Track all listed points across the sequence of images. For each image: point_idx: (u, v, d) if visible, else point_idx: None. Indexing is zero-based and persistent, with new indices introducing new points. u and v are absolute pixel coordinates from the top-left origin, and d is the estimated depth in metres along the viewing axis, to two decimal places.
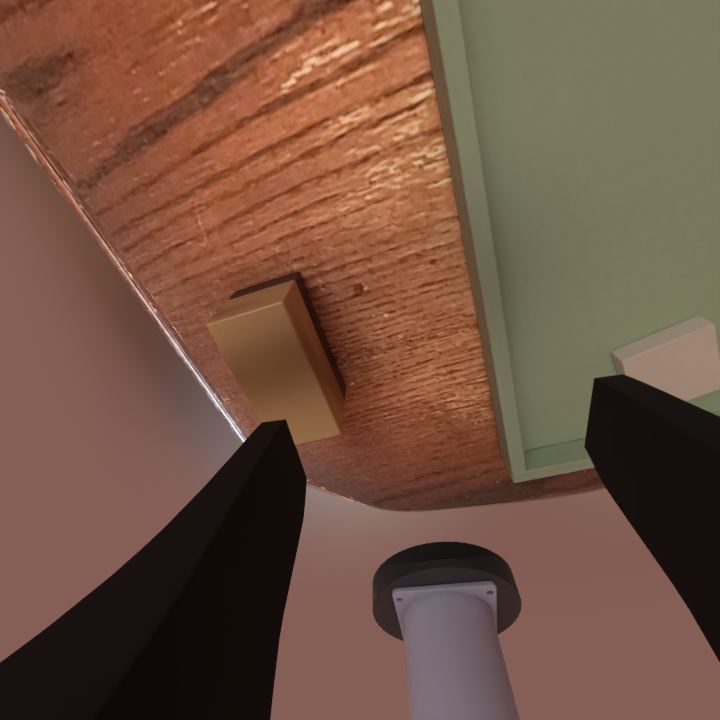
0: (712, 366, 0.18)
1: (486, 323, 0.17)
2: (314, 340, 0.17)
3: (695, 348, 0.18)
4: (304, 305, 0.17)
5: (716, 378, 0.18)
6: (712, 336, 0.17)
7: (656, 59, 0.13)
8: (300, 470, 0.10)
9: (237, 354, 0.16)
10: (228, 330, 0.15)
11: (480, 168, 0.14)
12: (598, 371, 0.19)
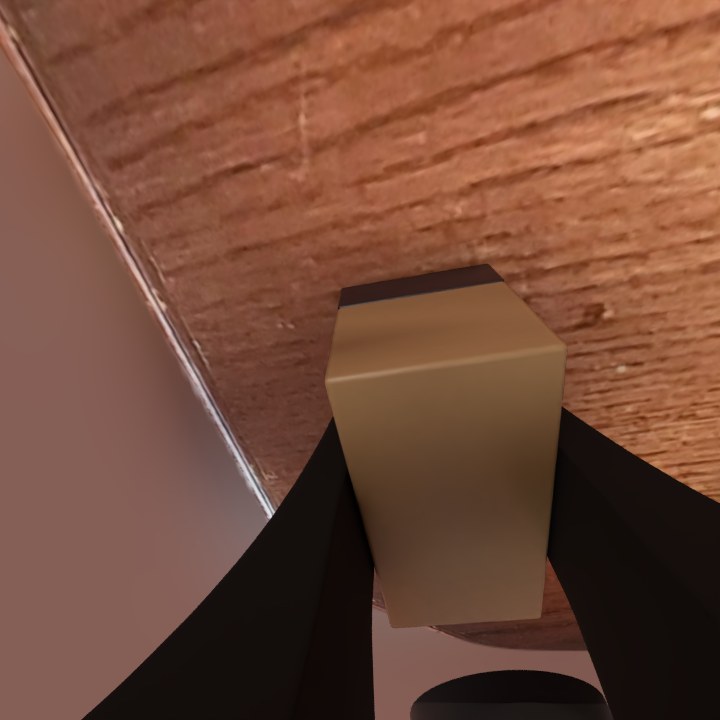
0: None
1: None
2: None
3: None
4: None
5: None
6: None
7: None
8: None
9: (383, 457, 0.06)
10: (384, 401, 0.06)
11: None
12: None
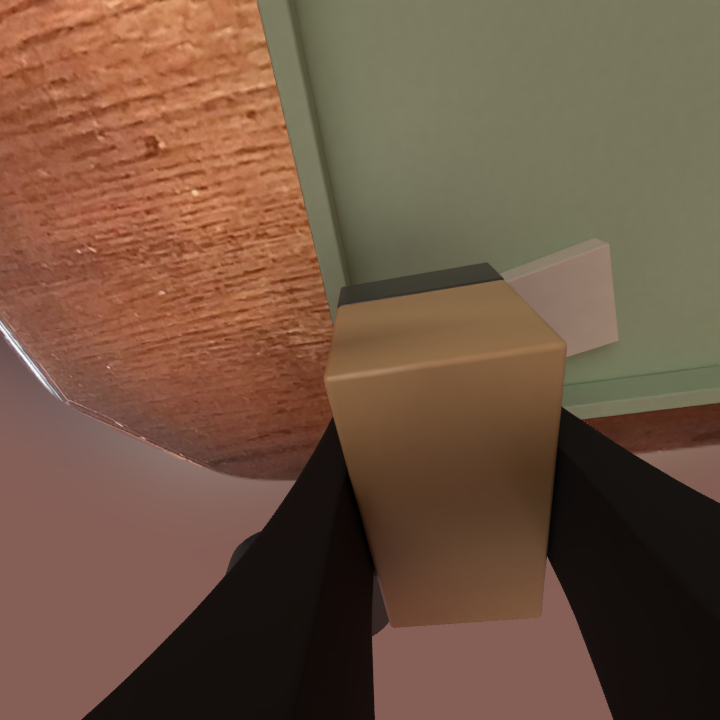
0: (605, 308, 0.14)
1: (304, 199, 0.12)
2: None
3: (584, 278, 0.13)
4: None
5: (610, 326, 0.14)
6: (606, 262, 0.13)
7: None
8: None
9: (383, 455, 0.06)
10: (383, 399, 0.06)
11: None
12: None
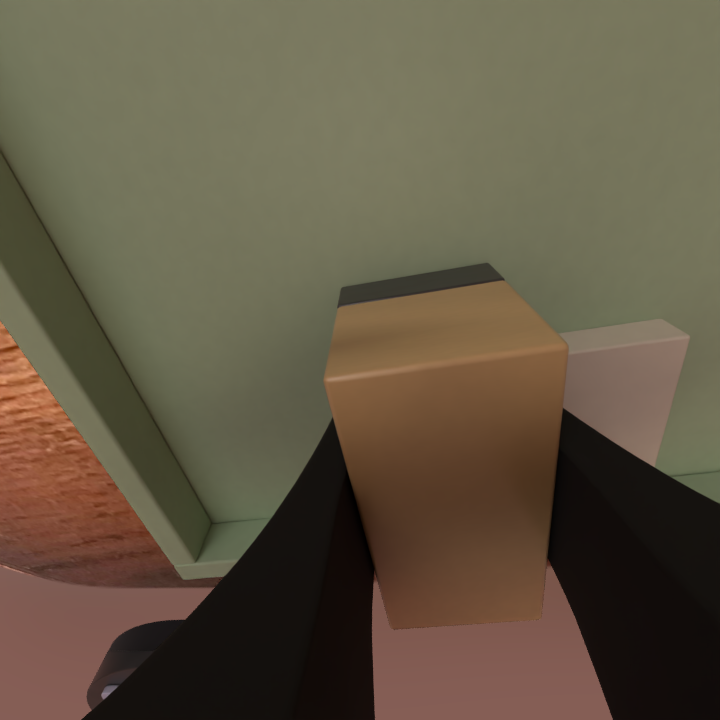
0: (652, 424, 0.09)
1: None
2: None
3: (638, 378, 0.09)
4: None
5: (649, 448, 0.10)
6: (677, 363, 0.08)
7: None
8: None
9: (383, 457, 0.06)
10: (383, 400, 0.05)
11: None
12: (308, 402, 0.10)
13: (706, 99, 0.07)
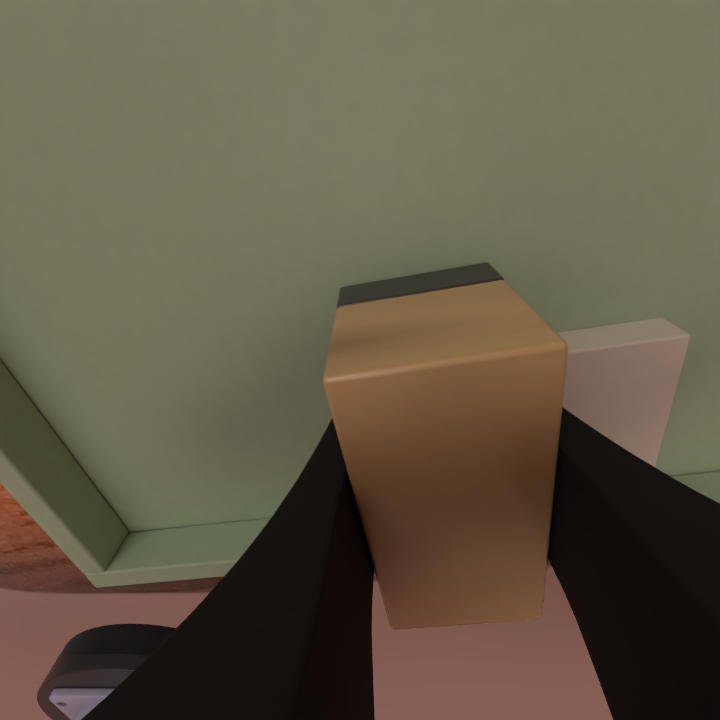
0: (653, 423, 0.09)
1: None
2: None
3: (639, 377, 0.09)
4: None
5: (650, 447, 0.10)
6: (678, 362, 0.08)
7: None
8: None
9: (382, 457, 0.06)
10: (382, 400, 0.05)
11: None
12: (202, 417, 0.11)
13: (529, 134, 0.07)
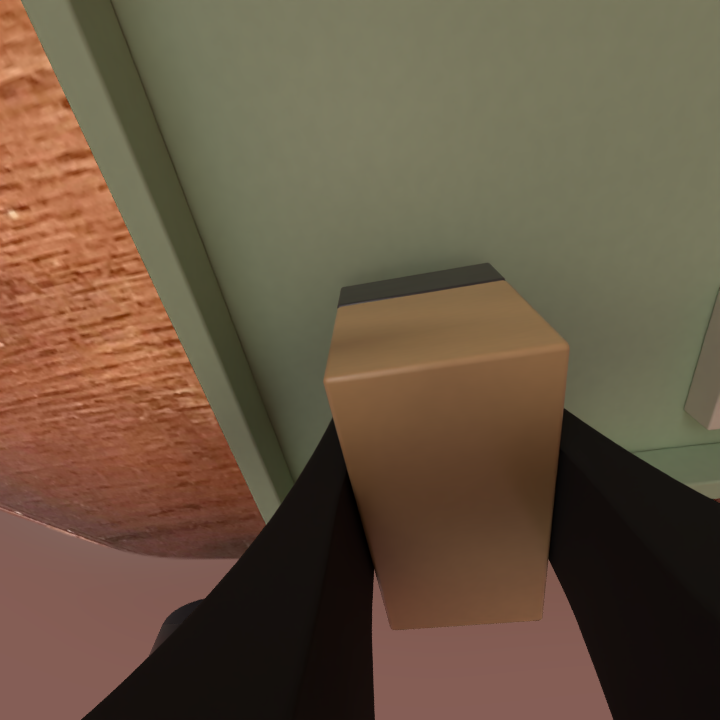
0: None
1: (131, 230, 0.08)
2: None
3: None
4: None
5: None
6: None
7: None
8: None
9: (383, 457, 0.06)
10: (383, 401, 0.05)
11: None
12: None
13: None
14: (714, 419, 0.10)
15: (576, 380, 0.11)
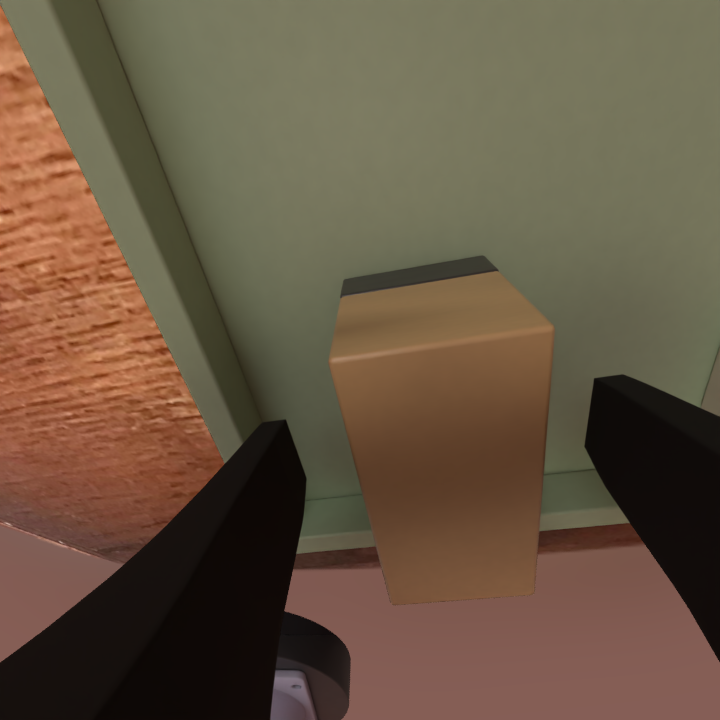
0: None
1: (116, 236, 0.07)
2: None
3: None
4: None
5: None
6: None
7: None
8: (300, 470, 0.10)
9: (383, 434, 0.06)
10: (384, 380, 0.06)
11: None
12: None
13: None
14: None
15: (584, 390, 0.11)
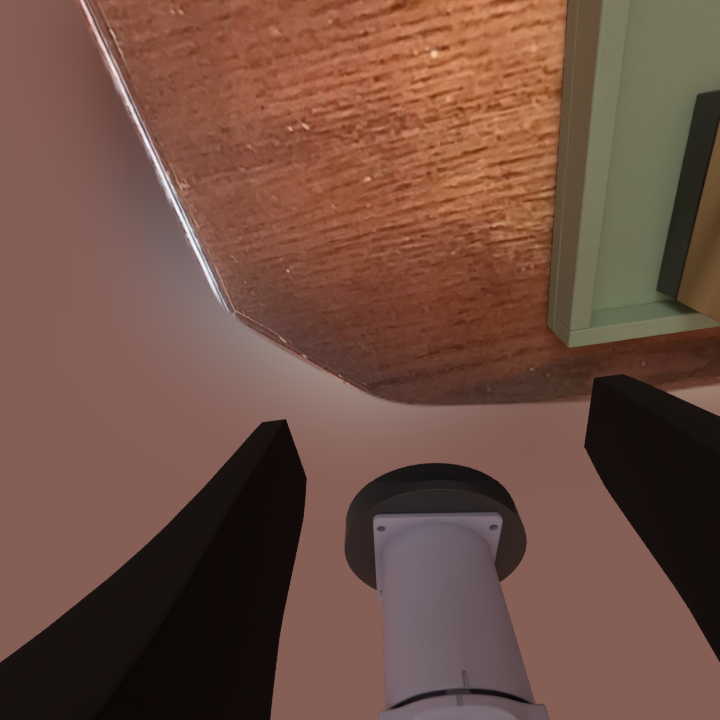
0: None
1: (597, 35, 0.11)
2: None
3: None
4: None
5: None
6: None
7: None
8: (300, 470, 0.10)
9: None
10: None
11: None
12: None
13: None
14: None
15: None
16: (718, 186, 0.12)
